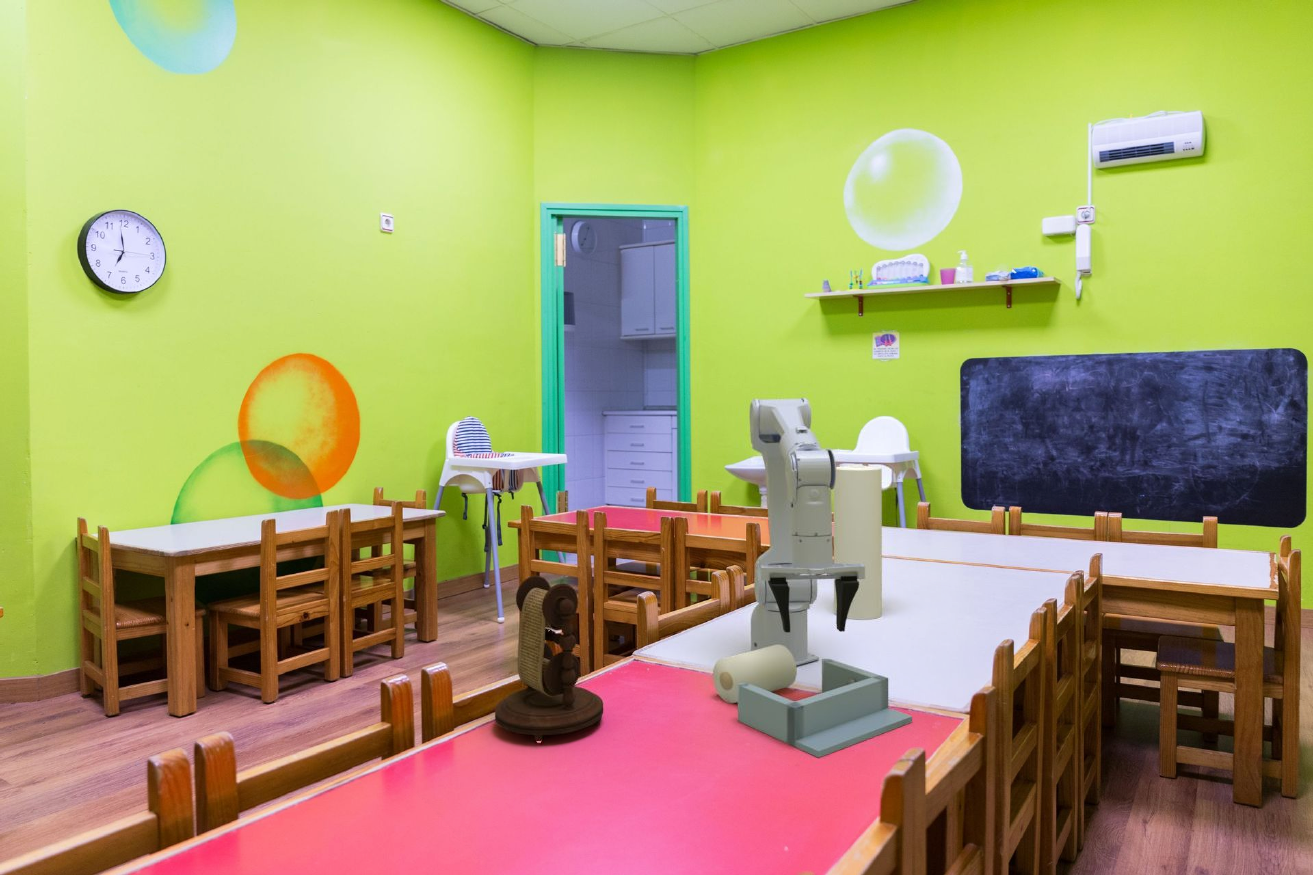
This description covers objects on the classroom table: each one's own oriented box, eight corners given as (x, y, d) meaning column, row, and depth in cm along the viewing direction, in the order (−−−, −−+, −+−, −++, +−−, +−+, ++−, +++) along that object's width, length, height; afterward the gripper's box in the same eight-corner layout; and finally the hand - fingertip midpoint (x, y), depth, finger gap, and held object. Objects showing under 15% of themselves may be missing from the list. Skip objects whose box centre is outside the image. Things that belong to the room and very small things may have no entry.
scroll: (475, 722, 117) (471, 579, 116) (564, 696, 126) (561, 564, 125) (532, 756, 105) (528, 598, 104) (625, 725, 115) (622, 580, 114)
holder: (735, 719, 116) (735, 683, 116) (827, 690, 127) (826, 657, 127) (818, 757, 104) (818, 717, 103) (912, 721, 114) (912, 685, 114)
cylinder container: (883, 620, 165) (883, 467, 163) (834, 618, 167) (833, 467, 165) (880, 608, 174) (880, 463, 173) (833, 606, 176) (833, 463, 175)
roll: (741, 707, 120) (738, 662, 120) (712, 698, 125) (710, 655, 125) (799, 690, 127) (796, 647, 127) (770, 682, 132) (767, 641, 132)
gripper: (764, 538, 116) (766, 637, 116) (869, 536, 116) (871, 635, 116) (758, 533, 123) (759, 626, 123) (857, 531, 123) (859, 625, 123)
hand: (813, 630), depth 120 cm, fingers open, 7 cm apart
